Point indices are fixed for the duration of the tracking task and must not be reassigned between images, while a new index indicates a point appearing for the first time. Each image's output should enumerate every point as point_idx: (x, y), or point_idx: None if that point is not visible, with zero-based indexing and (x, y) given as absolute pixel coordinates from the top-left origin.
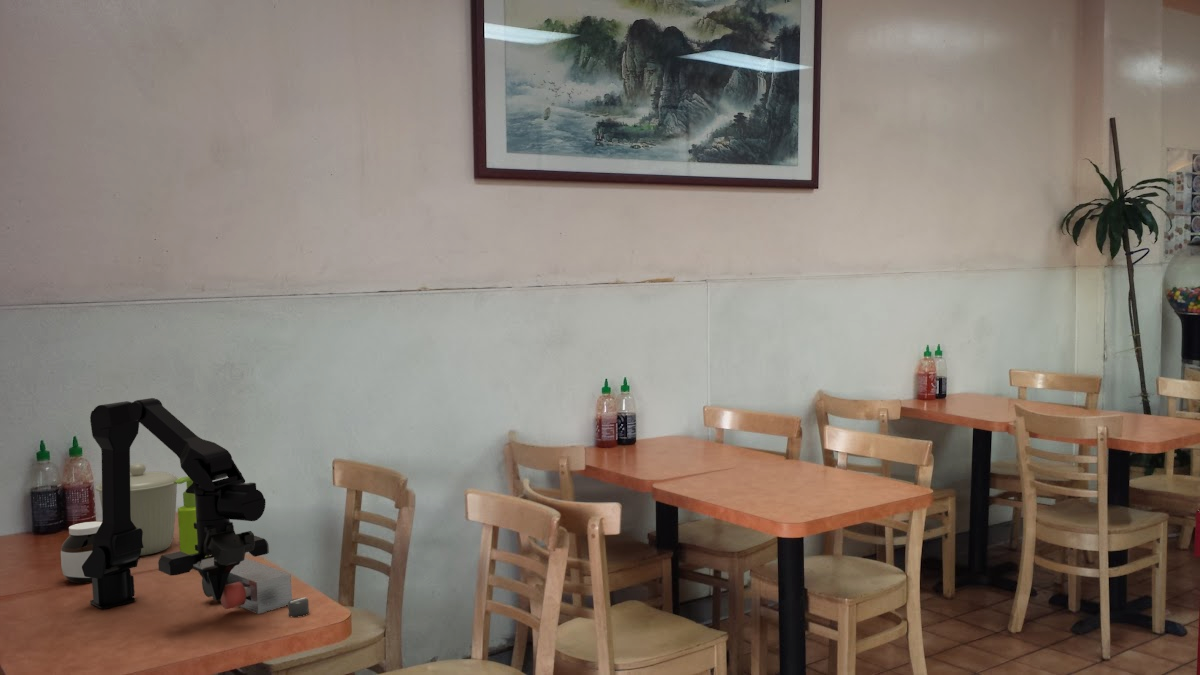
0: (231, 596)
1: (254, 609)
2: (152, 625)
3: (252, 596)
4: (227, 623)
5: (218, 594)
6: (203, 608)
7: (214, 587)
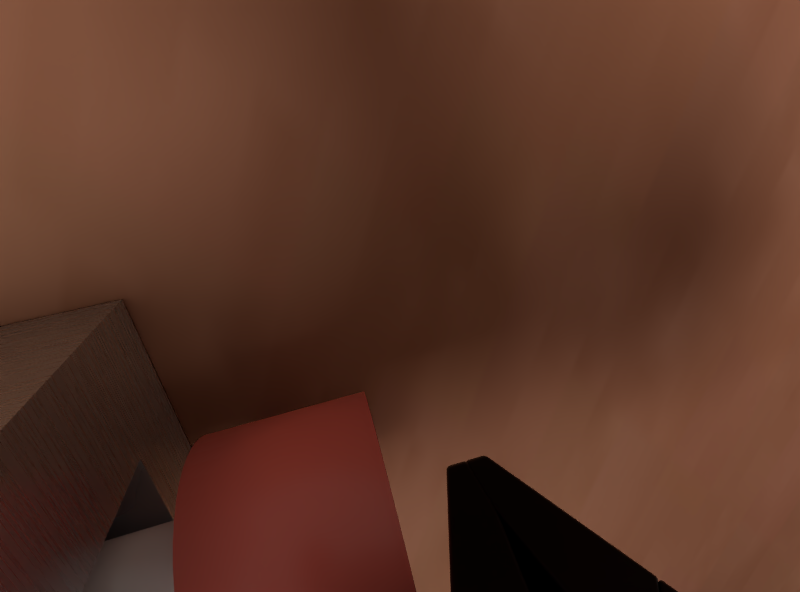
0: (364, 442)
1: (140, 371)
2: (704, 448)
3: (107, 474)
4: (405, 224)
5: (495, 498)
6: (429, 582)
7: (607, 559)
